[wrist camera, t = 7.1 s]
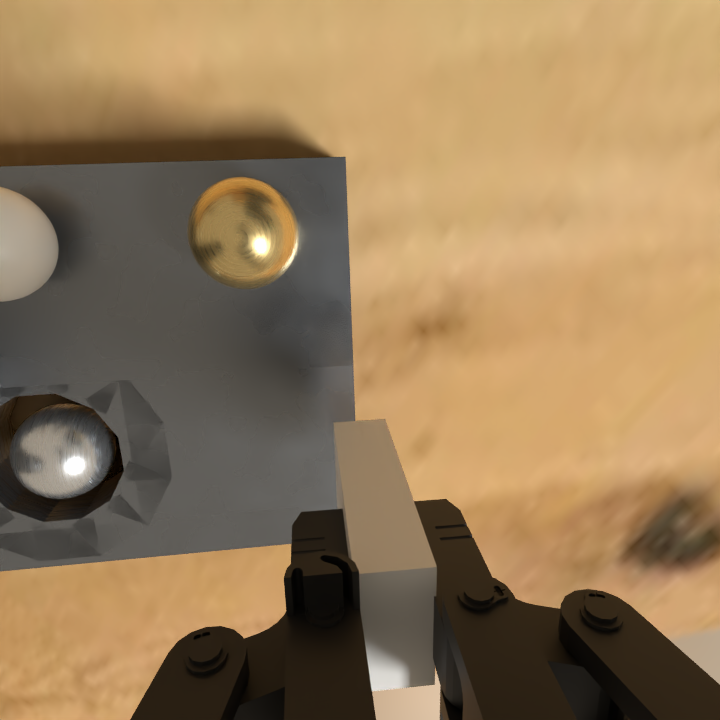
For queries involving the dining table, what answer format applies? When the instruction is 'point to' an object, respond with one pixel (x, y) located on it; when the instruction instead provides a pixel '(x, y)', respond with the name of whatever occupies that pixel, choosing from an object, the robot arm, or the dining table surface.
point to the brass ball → (243, 233)
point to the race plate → (179, 363)
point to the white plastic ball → (24, 246)
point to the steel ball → (62, 451)
